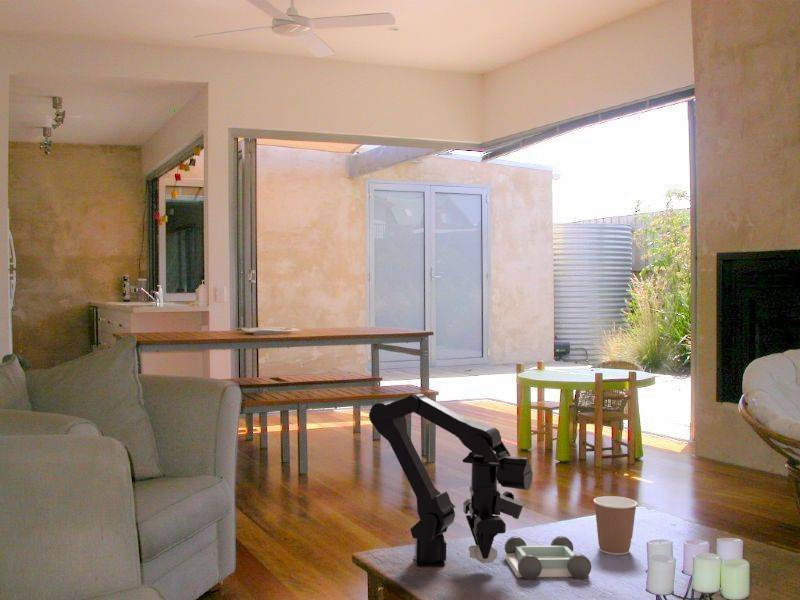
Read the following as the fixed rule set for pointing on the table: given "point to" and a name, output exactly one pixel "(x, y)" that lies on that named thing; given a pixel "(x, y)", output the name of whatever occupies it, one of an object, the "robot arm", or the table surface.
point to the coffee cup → (615, 523)
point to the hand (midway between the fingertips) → (482, 554)
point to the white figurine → (477, 554)
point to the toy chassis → (546, 559)
